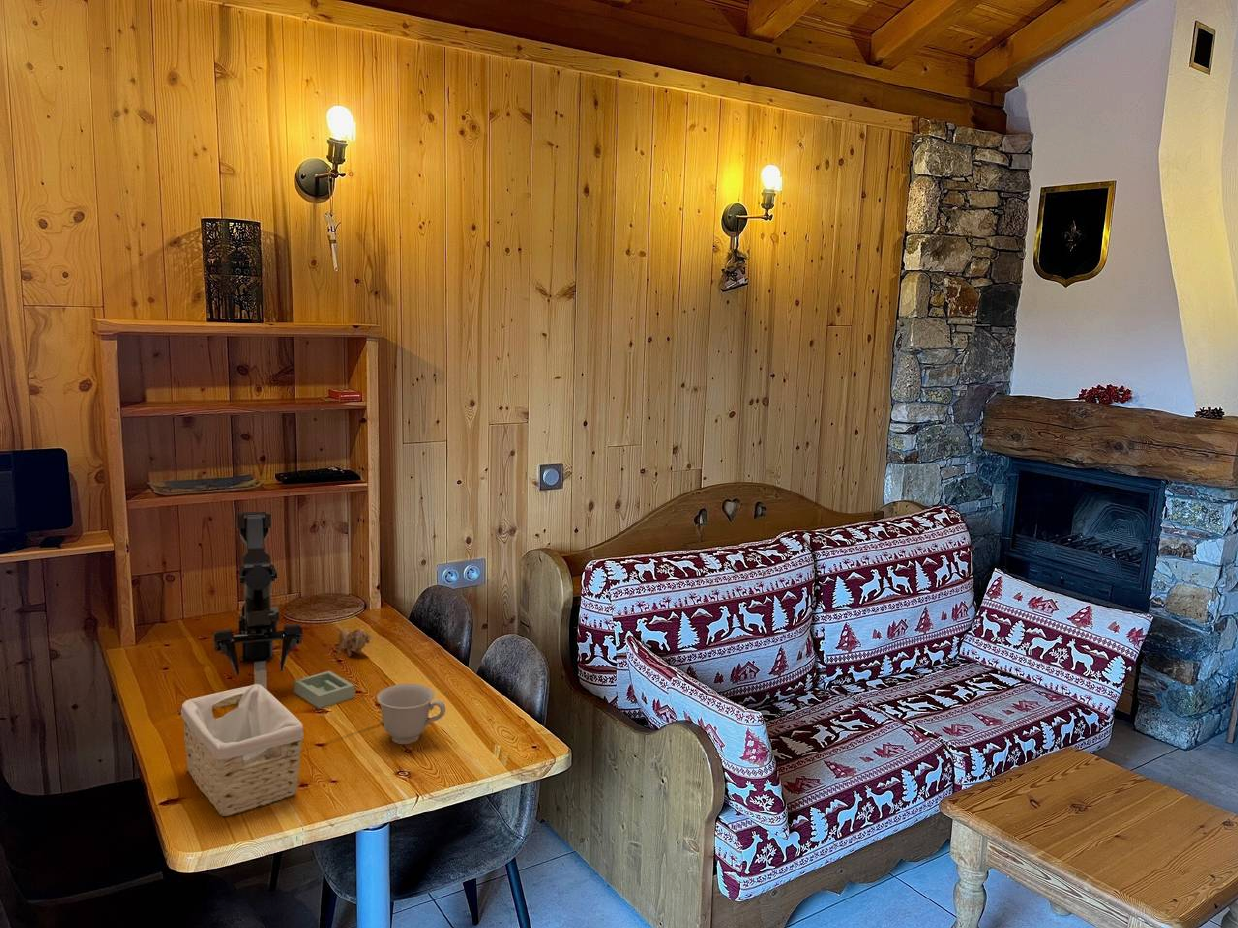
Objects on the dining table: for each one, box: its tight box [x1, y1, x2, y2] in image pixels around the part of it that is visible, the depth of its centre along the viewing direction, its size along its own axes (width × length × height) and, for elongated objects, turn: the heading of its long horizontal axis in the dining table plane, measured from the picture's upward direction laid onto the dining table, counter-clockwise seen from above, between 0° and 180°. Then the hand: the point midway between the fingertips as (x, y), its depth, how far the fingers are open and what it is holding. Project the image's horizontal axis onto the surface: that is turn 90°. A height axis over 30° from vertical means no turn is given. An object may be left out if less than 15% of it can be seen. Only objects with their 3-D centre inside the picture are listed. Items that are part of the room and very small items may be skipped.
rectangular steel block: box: [253, 661, 268, 691], centre depth 203 cm, size 5×2×11 cm, turn 23°
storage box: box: [294, 670, 355, 710], centre depth 212 cm, size 11×9×4 cm
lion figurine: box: [334, 627, 372, 657], centre depth 238 cm, size 15×5×9 cm, turn 48°
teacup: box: [376, 683, 446, 745], centre depth 196 cm, size 12×15×10 cm
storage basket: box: [180, 683, 305, 817], centre depth 175 cm, size 24×16×15 cm
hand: (260, 672), depth 205 cm, fingers open, 9 cm apart
